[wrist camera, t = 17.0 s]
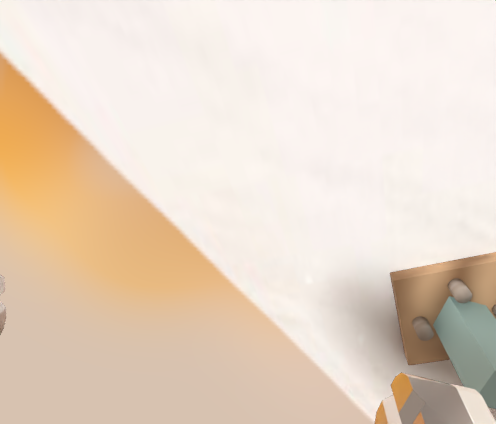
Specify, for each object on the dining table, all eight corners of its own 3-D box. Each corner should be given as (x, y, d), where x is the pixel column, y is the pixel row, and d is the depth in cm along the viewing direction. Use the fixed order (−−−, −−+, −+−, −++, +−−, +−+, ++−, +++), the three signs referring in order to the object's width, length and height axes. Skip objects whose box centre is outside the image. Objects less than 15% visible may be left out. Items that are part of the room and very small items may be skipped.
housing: (510, 249, 40) (529, 268, 37) (514, 339, 45) (531, 362, 42) (389, 272, 43) (398, 292, 39) (405, 355, 47) (413, 379, 44)
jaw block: (432, 325, 43) (472, 403, 34) (449, 296, 41) (494, 370, 32) (468, 333, 43) (516, 414, 34) (485, 305, 42) (541, 381, 32)
